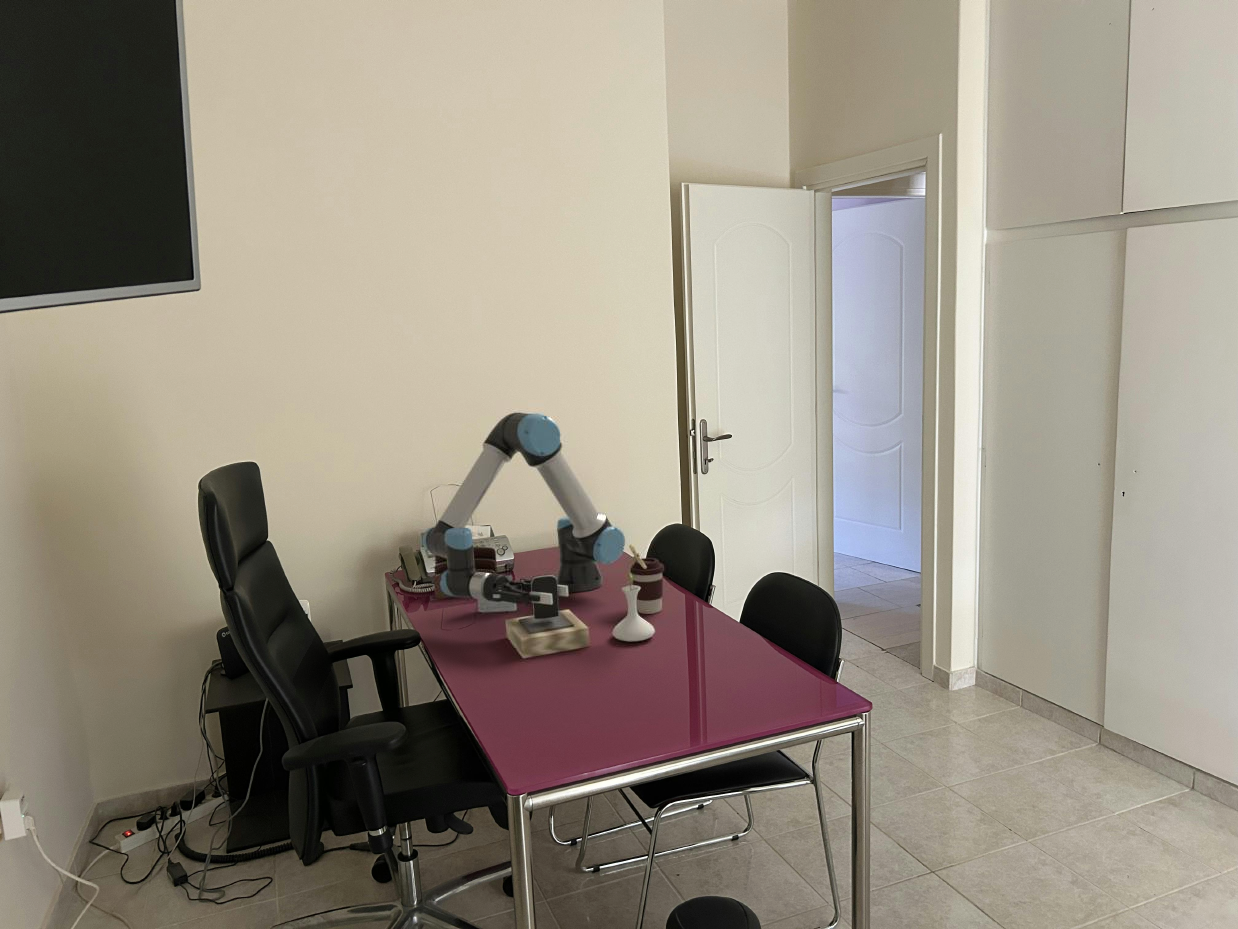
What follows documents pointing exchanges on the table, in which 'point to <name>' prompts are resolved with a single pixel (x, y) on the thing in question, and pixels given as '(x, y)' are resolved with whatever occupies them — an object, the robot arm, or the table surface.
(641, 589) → the coffee cup
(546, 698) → the table surface
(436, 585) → the letter holder
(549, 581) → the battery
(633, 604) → the flower in vase
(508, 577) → the ink box
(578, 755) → the table surface
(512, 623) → the stand
